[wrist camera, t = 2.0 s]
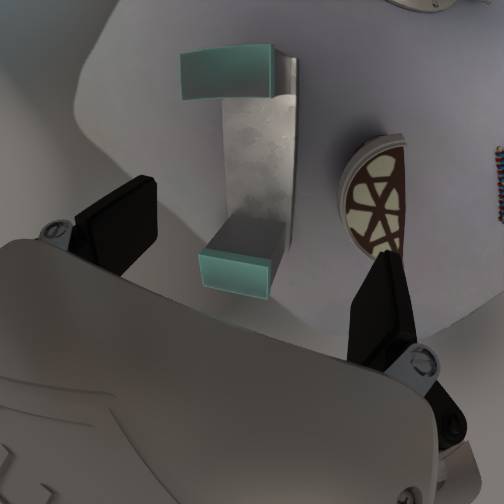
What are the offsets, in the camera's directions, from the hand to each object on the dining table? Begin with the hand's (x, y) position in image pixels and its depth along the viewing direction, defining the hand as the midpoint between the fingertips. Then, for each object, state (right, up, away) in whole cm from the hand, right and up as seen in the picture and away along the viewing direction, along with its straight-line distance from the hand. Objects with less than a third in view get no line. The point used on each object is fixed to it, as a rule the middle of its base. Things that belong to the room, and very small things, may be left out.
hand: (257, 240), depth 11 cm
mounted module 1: (0, +18, +13) cm, 22 cm away
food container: (+13, +8, +18) cm, 23 cm away
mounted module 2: (+1, +2, +24) cm, 24 cm away
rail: (+1, +11, +20) cm, 23 cm away
